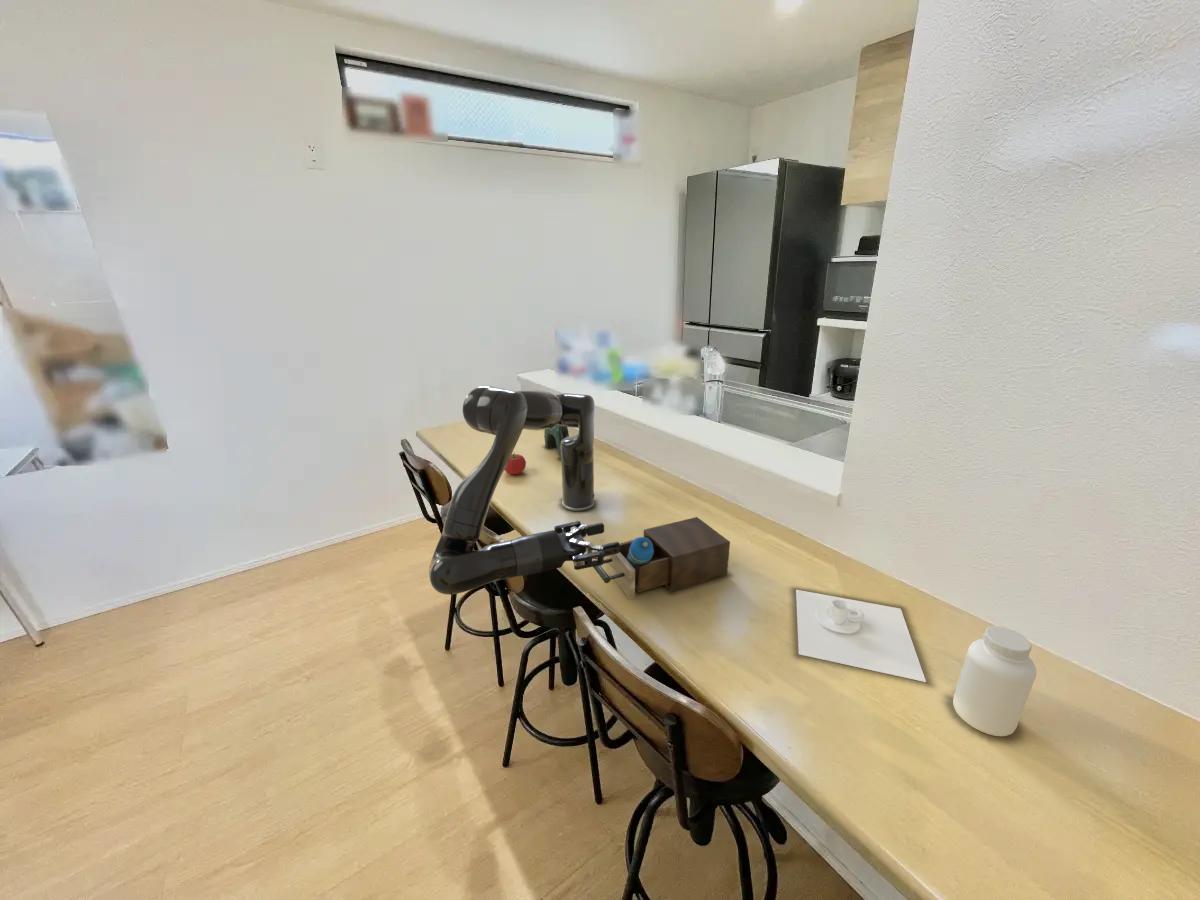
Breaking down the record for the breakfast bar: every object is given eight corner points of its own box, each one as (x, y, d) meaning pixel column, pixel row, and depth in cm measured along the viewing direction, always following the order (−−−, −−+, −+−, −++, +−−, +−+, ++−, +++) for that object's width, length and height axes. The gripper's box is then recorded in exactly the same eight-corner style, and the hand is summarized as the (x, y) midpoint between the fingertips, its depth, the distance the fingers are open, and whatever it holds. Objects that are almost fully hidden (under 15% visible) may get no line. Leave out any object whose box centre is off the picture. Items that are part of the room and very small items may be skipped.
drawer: (609, 605, 101) (609, 576, 98) (587, 574, 110) (586, 548, 108) (684, 582, 108) (686, 555, 105) (658, 556, 117) (659, 530, 115)
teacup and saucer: (861, 613, 99) (865, 596, 97) (867, 640, 92) (871, 622, 90) (814, 604, 101) (817, 588, 100) (816, 630, 94) (819, 612, 93)
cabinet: (671, 592, 106) (673, 557, 103) (642, 561, 117) (643, 529, 114) (727, 575, 111) (730, 541, 108) (694, 548, 122) (696, 516, 119)
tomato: (524, 477, 164) (522, 456, 161) (501, 477, 164) (499, 456, 162) (528, 468, 171) (526, 448, 169) (505, 468, 172) (504, 448, 169)
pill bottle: (939, 696, 80) (962, 621, 74) (985, 692, 80) (1011, 617, 75) (978, 740, 72) (1007, 660, 67) (1029, 736, 73) (1061, 656, 68)
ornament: (628, 581, 109) (647, 561, 96) (613, 563, 110) (629, 542, 98) (644, 566, 112) (664, 545, 99) (629, 549, 113) (646, 526, 100)
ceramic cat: (541, 445, 194) (538, 396, 187) (556, 443, 196) (554, 394, 189) (558, 462, 177) (556, 408, 170) (575, 459, 179) (573, 406, 172)
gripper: (545, 555, 89) (626, 537, 95) (525, 520, 101) (598, 506, 107) (546, 589, 92) (625, 570, 97) (527, 551, 104) (598, 536, 110)
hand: (611, 536), depth 102 cm, fingers open, 8 cm apart
